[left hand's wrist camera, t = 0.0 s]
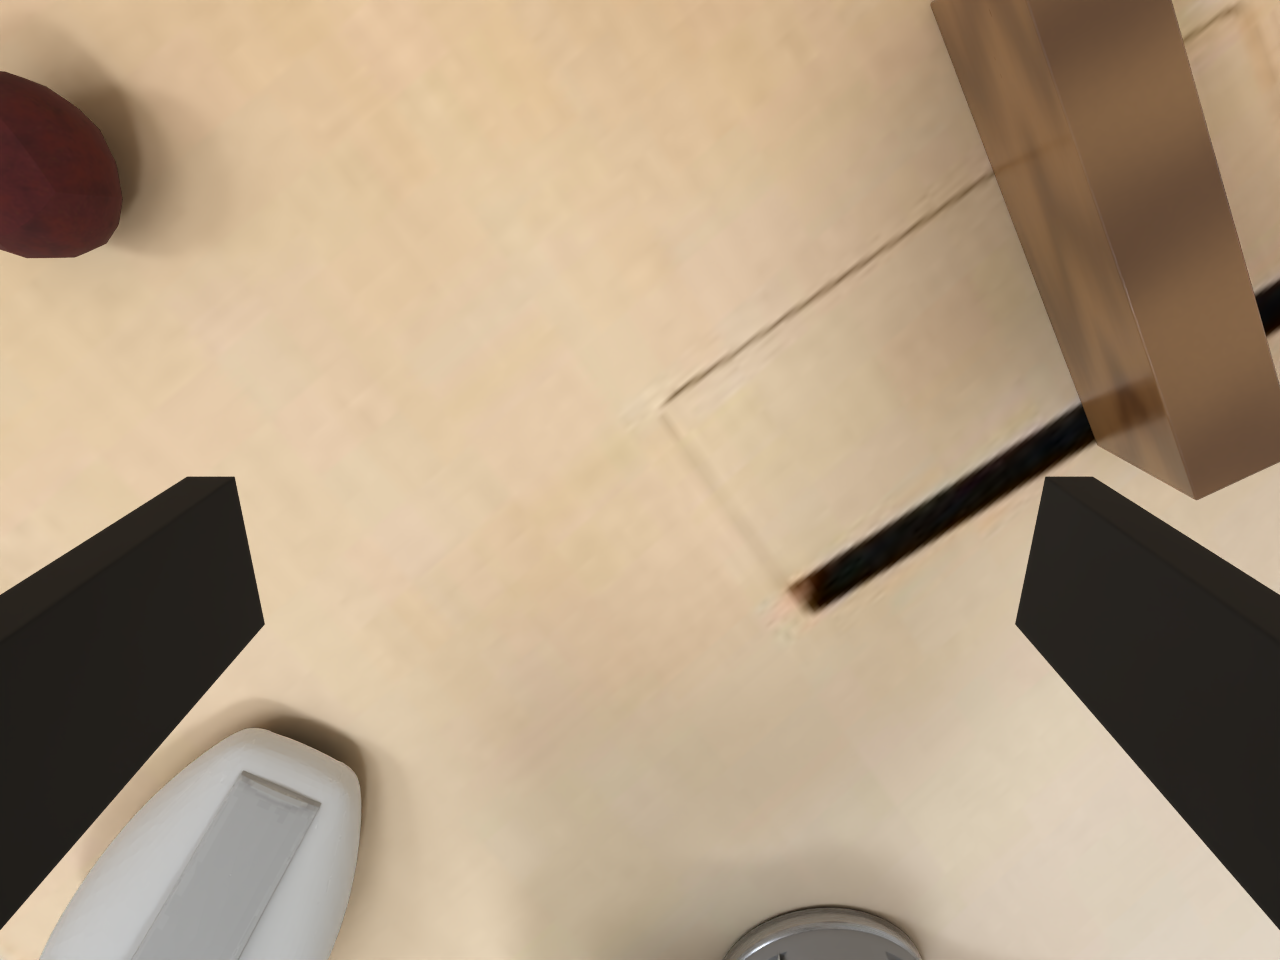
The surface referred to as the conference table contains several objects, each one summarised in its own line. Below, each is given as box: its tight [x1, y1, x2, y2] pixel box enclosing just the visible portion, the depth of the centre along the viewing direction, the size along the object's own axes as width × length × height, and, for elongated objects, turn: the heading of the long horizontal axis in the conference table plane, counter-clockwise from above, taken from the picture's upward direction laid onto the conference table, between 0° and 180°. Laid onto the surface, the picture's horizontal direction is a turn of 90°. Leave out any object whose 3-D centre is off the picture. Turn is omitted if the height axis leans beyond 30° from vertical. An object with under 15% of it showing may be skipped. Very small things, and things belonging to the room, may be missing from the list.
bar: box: [931, 0, 1280, 500], centre depth 34 cm, size 24×4×8 cm, turn 30°
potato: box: [0, 71, 123, 258], centre depth 33 cm, size 7×8×7 cm
